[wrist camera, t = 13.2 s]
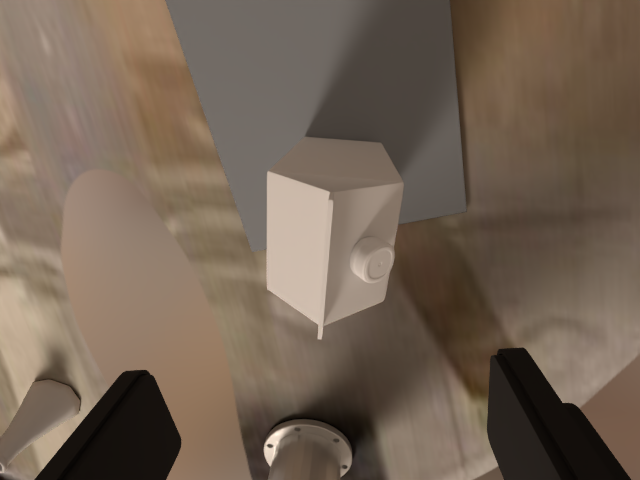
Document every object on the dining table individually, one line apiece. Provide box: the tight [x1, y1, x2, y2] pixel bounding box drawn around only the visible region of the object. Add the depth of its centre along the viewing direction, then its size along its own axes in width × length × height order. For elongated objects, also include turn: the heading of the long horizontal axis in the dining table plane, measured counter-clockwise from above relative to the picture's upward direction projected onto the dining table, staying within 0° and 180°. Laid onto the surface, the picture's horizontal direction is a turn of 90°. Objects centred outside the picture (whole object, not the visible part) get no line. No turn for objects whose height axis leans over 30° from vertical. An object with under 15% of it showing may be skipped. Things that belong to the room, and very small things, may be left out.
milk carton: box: [267, 137, 404, 339], centre depth 24 cm, size 7×7×19 cm
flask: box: [0, 379, 80, 473], centre depth 45 cm, size 7×7×10 cm
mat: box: [165, 0, 467, 252], centre depth 30 cm, size 28×22×1 cm
